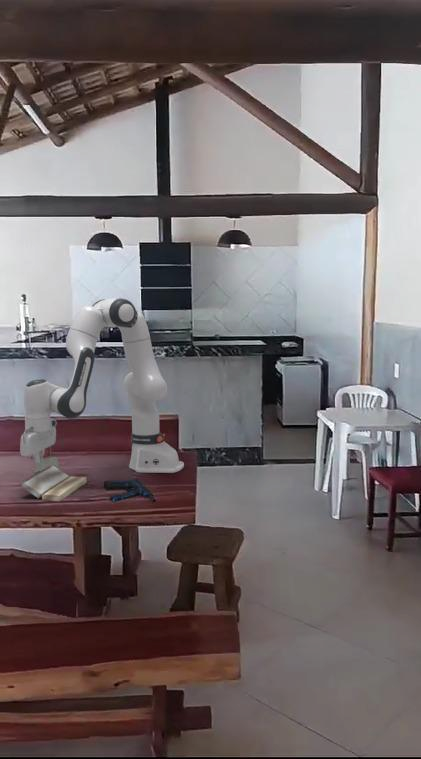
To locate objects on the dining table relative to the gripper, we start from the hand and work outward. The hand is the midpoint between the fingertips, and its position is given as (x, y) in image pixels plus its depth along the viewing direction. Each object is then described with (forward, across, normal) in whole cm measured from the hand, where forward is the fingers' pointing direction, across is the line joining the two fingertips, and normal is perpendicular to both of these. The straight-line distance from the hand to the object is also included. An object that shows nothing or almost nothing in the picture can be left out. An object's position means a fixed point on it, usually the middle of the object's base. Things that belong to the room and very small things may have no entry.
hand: (39, 462), depth 234 cm
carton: (+10, +42, +22) cm, 49 cm away
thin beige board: (+10, 0, -10) cm, 14 cm away
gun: (+11, +2, -33) cm, 35 cm away
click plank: (+8, 0, -2) cm, 8 cm away
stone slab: (+11, +29, +12) cm, 33 cm away
